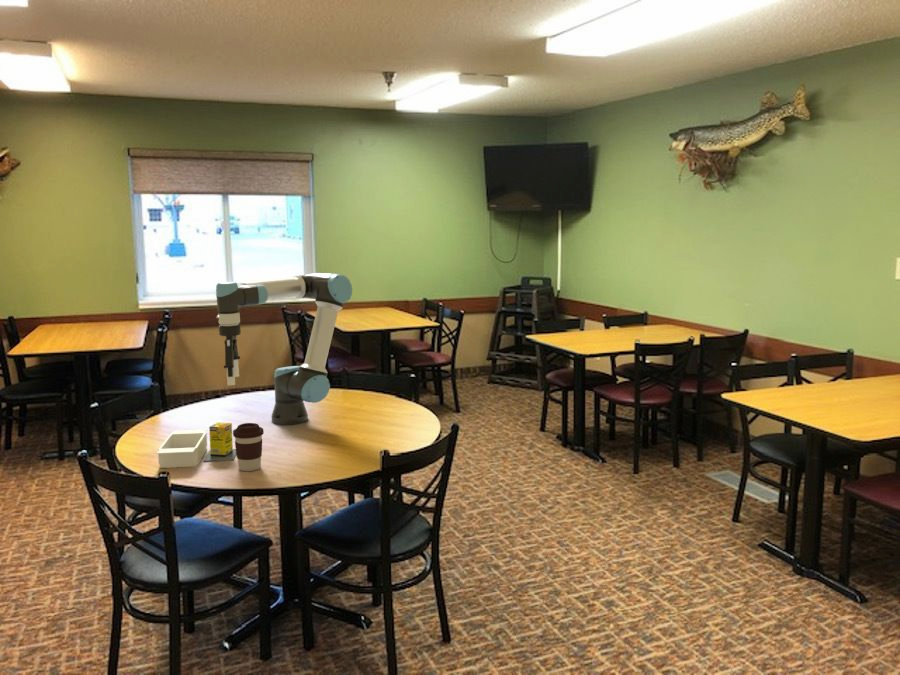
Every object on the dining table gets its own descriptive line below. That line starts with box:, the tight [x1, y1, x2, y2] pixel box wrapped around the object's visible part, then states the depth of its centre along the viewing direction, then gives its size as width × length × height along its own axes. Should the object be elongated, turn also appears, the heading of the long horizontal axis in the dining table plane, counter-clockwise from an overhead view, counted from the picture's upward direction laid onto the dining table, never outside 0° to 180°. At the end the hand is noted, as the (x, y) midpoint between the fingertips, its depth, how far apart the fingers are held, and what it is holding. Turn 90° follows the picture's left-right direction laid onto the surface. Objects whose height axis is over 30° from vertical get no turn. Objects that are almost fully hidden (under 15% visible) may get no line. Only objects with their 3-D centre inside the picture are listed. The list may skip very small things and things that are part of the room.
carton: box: [156, 428, 208, 469], centre depth 245 cm, size 13×27×6 cm, turn 10°
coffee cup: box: [232, 422, 265, 472], centre depth 235 cm, size 10×10×15 cm
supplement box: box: [209, 422, 234, 457], centre depth 248 cm, size 6×6×11 cm
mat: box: [203, 448, 237, 463], centre depth 249 cm, size 10×12×1 cm
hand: (233, 380), depth 258 cm, fingers open, 13 cm apart
